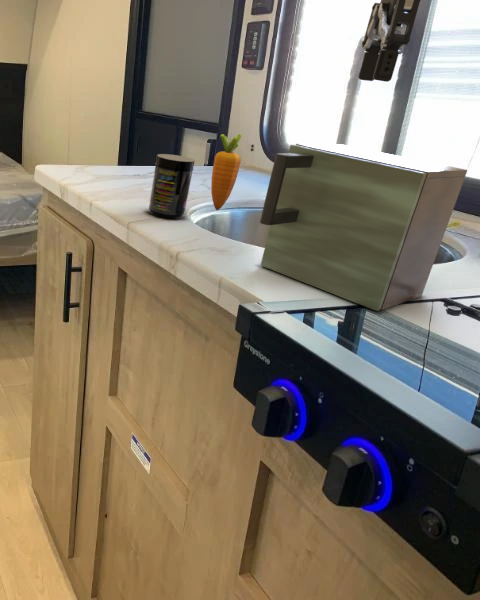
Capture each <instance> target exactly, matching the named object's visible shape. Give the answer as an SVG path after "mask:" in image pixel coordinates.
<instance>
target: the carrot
mask: <svg viewBox="0 0 480 600" xmlns="http://www.w3.org/2000/svg"><path fill="white" fill-rule="evenodd" d="M242 137H243V135H242V134H241V133H237V136H233V138H232V139H231V140H230V141H229V140H228V137H227V136H226V135H225V134H223V133H221V134H220V139H221V142H222V146H223V149H224V151H222V150H221V151H218V152H217V153H216V154H215V156H214V161H213V166H212V173H211V185H210V187H211V200H212V203H213V207H214V209H215V210H216V211H219V210H221V209H222V207H223V206H224V205H225V204H226V202H227V201H228V199H229V198H230V195H231V193H232V192H233V189H234V186H235V184H236V181H237V177H238V174H239V170H240V167H241V161H242V159H241V157H240V155H239V154H238V153H236V152H234V151H235V150H236V149H237V148H238V147H239V145H240V144H239V143H240V140H241V138H242Z"/></svg>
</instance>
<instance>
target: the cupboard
mask: <svg viewBox="0 0 480 600" xmlns="http://www.w3.org/2000/svg"><path fill="white" fill-rule="evenodd" d="M295 145H298V146H302V147H307V148H312V149H316V150H321V151H326V152H330V153H335V154H340V155H344V156H349V157H354V158H358V159H363V160H368V161H372V162H377V163H382V164H386V165H391V166H396V167H400V168H405V169H410V170H414V171H419V172H424V173H427V175H426V178H425V180H424V183H423V186H422V189H421V192H420V195H419V198H418V201H417V204H416V207H415V210H414V213H413V216H412V219H411V222H410V225H409V228H408V231H407V233H406V236H405V239H404V242H403V245H402V248H401V251H400V254H399V257H398V260H397V263H396V266H395V269H394V272H393V275H392V278H391V281H390V284H389V286H388V289H387V292H386V295H385V298H384V301H383V304H382V307H381V310H380V311H384V310H387V309H389V308H393V307H395V306H398V305H401V304H404V303H406V302H409V301H412V300H415V299H419V298H421V297H422V296H423V293H424V290H425V288H426V285H427V283H428V279H429V277H430V275H431V271H432V269H433V266H434V263H435V260H436V258H437V255H438V253H439V250H440V247H441V244H442V241H443V239H444V236H445V233H446V230H447V228H448V224H449V222H450V219H451V217H452V214H453V211H454V208H455V207H456V203H457V200H458V199H459V198H458V197H459V195H460V192H461V189H462V187H463V185H464V181H465V179H466V175H467V173H468V169H465V168H460V167H454V166H451V165H444V164H440V163H437V162H436V163H435V162H430V161H426V160H420V159H417V158H416V159H415V158H410V157H405V156H400V155H396V154H390V153H386V152H380V151H375V150H370V149H366V148H360V147H356V146H350V145H346V144H341V143H340V144H338V143H337V144H336V143H335V144H334V143H295Z"/></svg>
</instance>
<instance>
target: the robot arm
mask: <svg viewBox="0 0 480 600" xmlns="http://www.w3.org/2000/svg"><path fill="white" fill-rule="evenodd" d="M421 1H422V0H380V2H374V3H373V5H372V7H371V13H370V16H369V19H368V23H367V25H366V30H365V34H364V36H363V39H362V42H361V48H363V52H364V53H363V57H362V61H361V64H360V69H359V72H358V75H357V77H358V80H359V81H366V82H373V81H379V82H390V81H392V79H393V74H394V72H395V68H396V65H397V62H398V58H399V54H400V52H402V50H403V49H404V48H405V46H407V45H408V44H409V43H410V42H411V35H412V32H413V28H414V26H415V25H414V24H415V20H416V18H417V14H418V10H419V7H420V4H421Z"/></svg>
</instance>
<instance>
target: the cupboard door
mask: <svg viewBox="0 0 480 600" xmlns="http://www.w3.org/2000/svg"><path fill="white" fill-rule="evenodd" d="M426 175H427V173H424V172H419V171H414V170H410V169H405V168H400V167H396V166H391V165H386V164H382V163H377V162H372V161H368V160H363V159H358V158H354V157H349V156H344V155H340V154H335V153H330V152H326V151H321V150H316V149H312V148H307V147H302V146H298V145H296V144H290V145H289V149H288V152H277V153H276V154H275V158H274V161H273V164H272V169H271V174H270V178H269V182H268V187H267V191H266V195H265V198H264V202H263V207H262V210H261V211H262V212H261V216H260V219H259V224H262V225H264V226H269V230H268V233H267V238H266V242H265V246H264V250H263V254H262V258H261V262H260V266H261V267H264V268H266V269H269V270H271V271H273V272H276V273H279V274H281V275H284V276H286V277H289V278H292V279H294V280H297V281H299V282H303V284H306V285H309V286H311V287H314V288H316V289H319V290H322V291H325V292H327V293H330V294H332V295H335V296H338V297H340V298H342V299H345V300H347V301H350V302H353V303H355V304H357V305H360V306H363V307H365V308H367V309H370V310H373V311H376V312H379V311H382V310H381V307H382V304H383V301H384V298H385V295H386V292H387V289H388V286H389V284H390V281H391V278H392V275H393V272H394V269H395V266H396V263H397V260H398V257H399V254H400V251H401V248H402V245H403V242H404V239H405V236H406V233H407V231H408V228H409V225H410V222H411V219H412V216H413V213H414V210H415V207H416V204H417V201H418V198H419V195H420V192H421V189H422V186H423V183H424V180H425V178H426Z"/></svg>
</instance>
